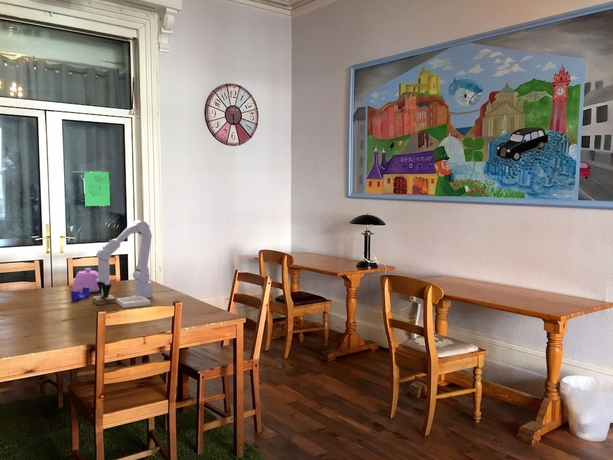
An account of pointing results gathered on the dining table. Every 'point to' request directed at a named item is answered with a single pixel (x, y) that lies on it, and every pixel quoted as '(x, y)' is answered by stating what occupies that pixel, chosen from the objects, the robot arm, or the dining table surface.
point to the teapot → (86, 280)
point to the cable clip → (80, 294)
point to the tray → (133, 301)
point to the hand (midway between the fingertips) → (104, 295)
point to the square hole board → (104, 299)
